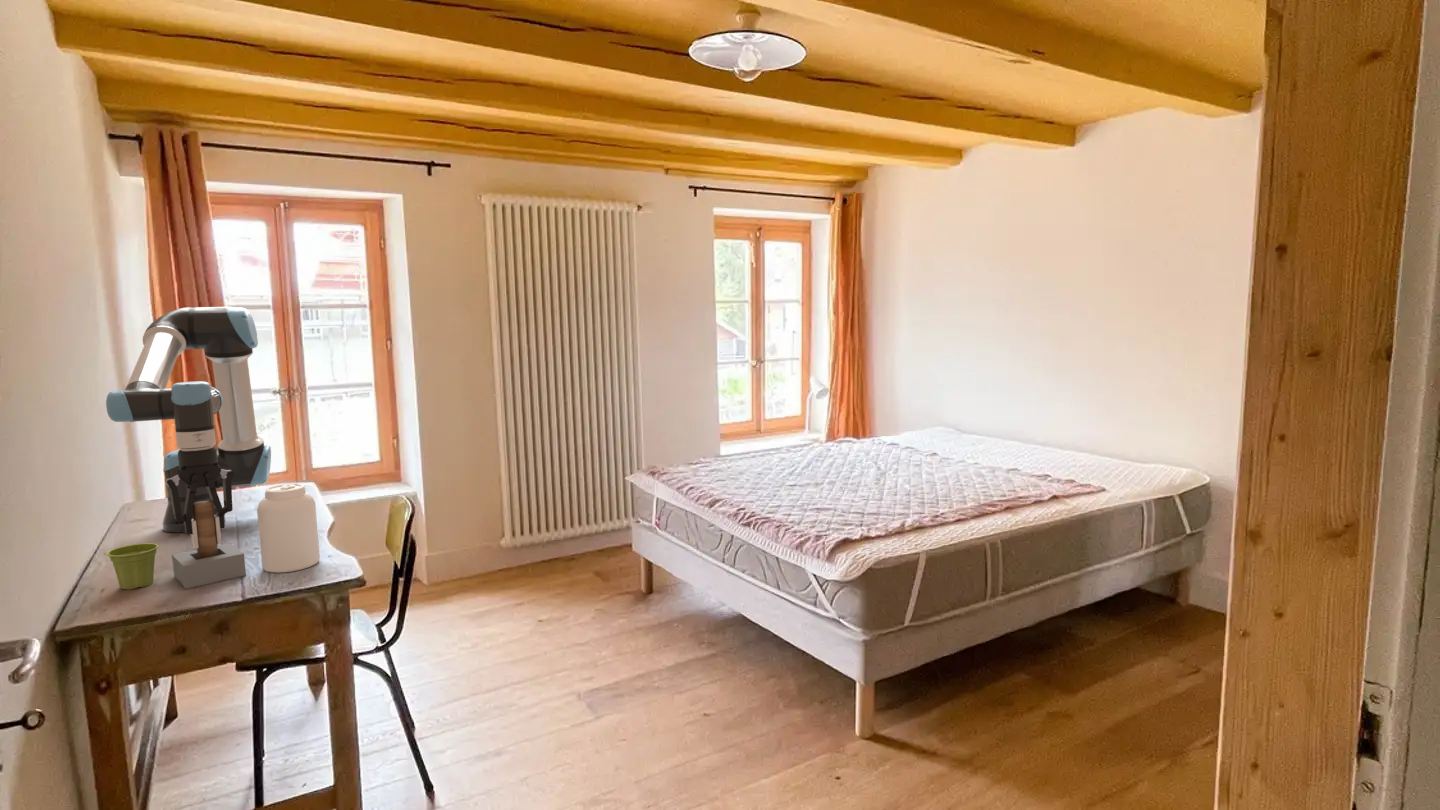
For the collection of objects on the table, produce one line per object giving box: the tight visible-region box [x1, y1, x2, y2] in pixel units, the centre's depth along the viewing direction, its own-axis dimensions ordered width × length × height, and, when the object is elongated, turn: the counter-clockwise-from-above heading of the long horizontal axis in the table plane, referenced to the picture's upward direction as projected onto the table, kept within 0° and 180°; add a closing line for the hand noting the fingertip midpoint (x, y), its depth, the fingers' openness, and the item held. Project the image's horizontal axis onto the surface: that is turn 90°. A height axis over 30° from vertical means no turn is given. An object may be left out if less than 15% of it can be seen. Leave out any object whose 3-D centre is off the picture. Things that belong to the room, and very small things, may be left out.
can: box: [256, 483, 321, 574], centre depth 186 cm, size 12×12×20 cm
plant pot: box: [106, 542, 159, 590], centre depth 175 cm, size 9×9×9 cm
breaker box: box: [171, 542, 247, 590], centre depth 180 cm, size 12×12×6 cm
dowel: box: [193, 501, 218, 559], centre depth 179 cm, size 4×4×16 cm
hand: (206, 544), depth 179 cm, fingers closed on dowel, 4 cm apart
